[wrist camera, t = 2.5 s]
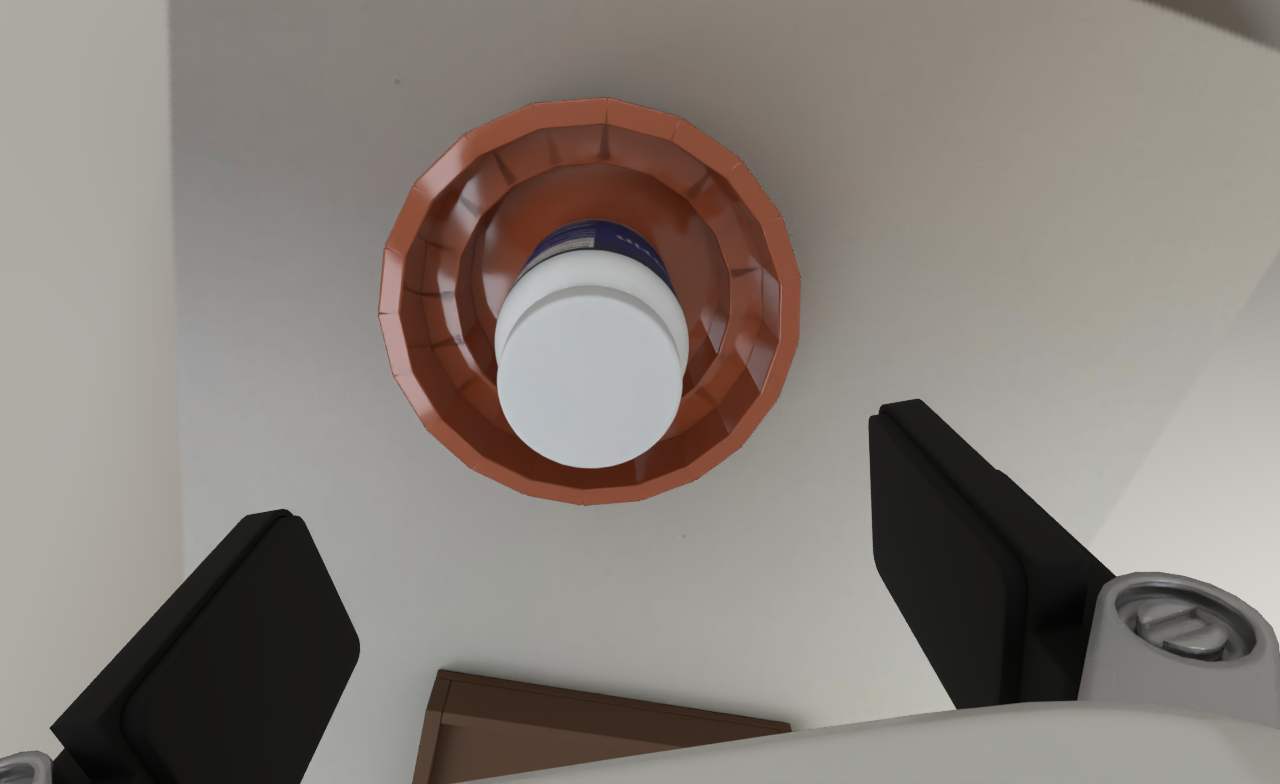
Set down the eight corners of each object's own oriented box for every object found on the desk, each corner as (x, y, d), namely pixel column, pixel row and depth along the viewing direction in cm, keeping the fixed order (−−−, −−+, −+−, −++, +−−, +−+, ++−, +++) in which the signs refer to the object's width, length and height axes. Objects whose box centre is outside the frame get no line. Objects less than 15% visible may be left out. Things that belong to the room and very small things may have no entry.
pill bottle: (694, 315, 26) (742, 426, 17) (572, 382, 27) (554, 522, 17) (622, 185, 24) (632, 230, 14) (493, 263, 24) (425, 351, 15)
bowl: (352, 268, 25) (288, 307, 20) (612, 14, 22) (614, -16, 17) (584, 488, 29) (579, 566, 24) (826, 303, 26) (878, 347, 21)
